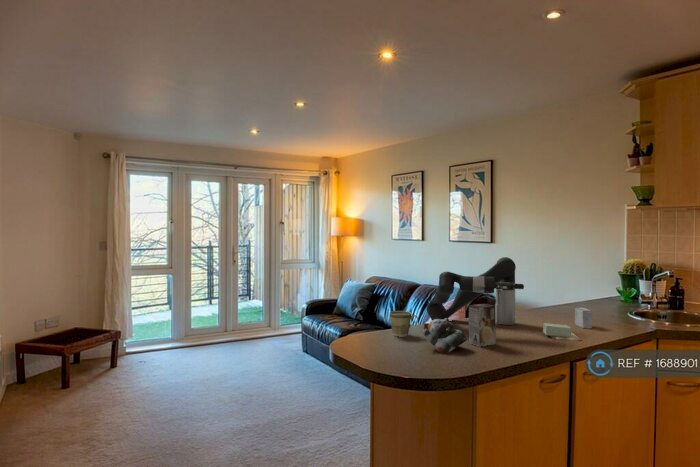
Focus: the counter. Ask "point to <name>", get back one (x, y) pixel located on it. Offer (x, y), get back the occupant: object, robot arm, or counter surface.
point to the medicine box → (583, 317)
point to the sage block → (557, 330)
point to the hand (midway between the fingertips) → (523, 286)
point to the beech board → (573, 337)
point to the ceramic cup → (401, 322)
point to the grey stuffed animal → (443, 335)
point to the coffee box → (482, 325)
